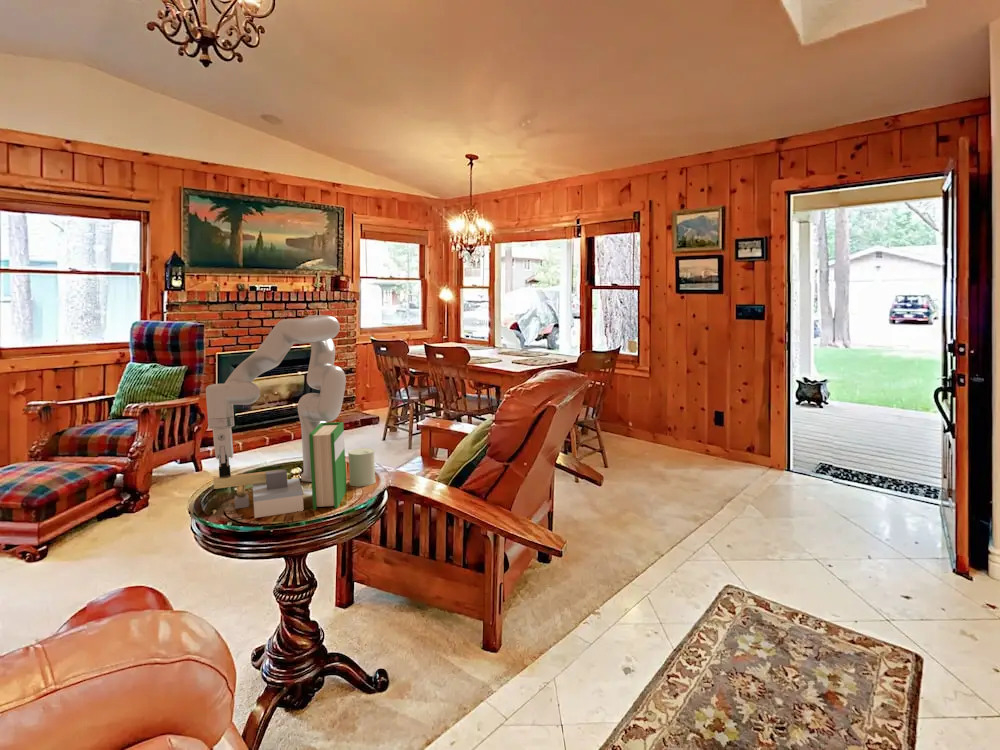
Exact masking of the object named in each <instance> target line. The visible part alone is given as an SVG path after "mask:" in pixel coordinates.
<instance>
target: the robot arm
mask: <svg viewBox="0 0 1000 750" xmlns="http://www.w3.org/2000/svg"><path fill="white" fill-rule="evenodd" d="M340 328H341V327H340V322H339V321H338V319H337V318H336V317H335V316H332V315H326V314H325V315H324V314H323V315H322V314H321V315H320V314H319V315H318V314H317V315H315V314H314V315H313V314H312V315H308V316H307V315H306V316H305V317H303V318H286V319H281V320H280V321H278V322H277V323H276V324H275V325H274V327H273V328H272V330H270V332H269V333H268V335H267V336H266V337H265V339H264V340H263V342H261V344H260V345H259V346H258V348H257V349H256V351H254V352H253V353H252V354H251V355H249V356H248V357H247V358H246V359H245V360H243V361H241V363H239V364H238V365H237V366H236V368H235V369H234V370H233V371H232V372H231V373H230V375H229V376H228V377H227V378H226V380H225V382H224V383H213V384H209V385H207V386H206V388H205V399H206V401H205V402H206V413H207V424H208V425H207V426H208V427H207V428H208V429H209V430H212V435H213V436H212V437H213V447H214V454H215V458H216V460H218V464H219V465H218V475H219V476H218V477H223V476H231V475H232V474H231V473H232V472H231V465H230V459H233V457H234V444H233V443H234V442H233V441H234V440H233V431H232V428H233V427H235V418H234V417H235V414H234V411H235V410H234V405H236V406H237V405H246V406H247V405H251V404H253V403H255V402H257V400H259V398H260V395H261V390H260V388H259V385H257V384H255V383H254V382H253V381H255V380H256V378H257V377H259V376H260V375H262V374H264V373H266V372H269V371H270V370H273V369H274V368H277V367H278V366H279V365H280V364H281V363H282V362H283V360H284V359H285V357H286V355H287V354H288V352H289V351H290V350H291V348H292V347H293V345H295V344H297V345H298V344H299V345H301V344H302V345H304V344H309V345H310V348H311V349H310V350H311V352H310V359H309V365H308V370H307V374H306V383H307V385H308V386H309V387H310V388H311V389H313V390H318V391H320V393H318V392H317V393H316V392H310V393H309V392H308V393H306V394H304V395H302V396H301V397H300V398H299V400H298V403H297V414H298V418H299V422H300V429H301V430H300V431H301V447H302V463H303V464H302V466H303V473H301V474H300V475H301V479H302V480H301V481H302V482H307V483H312V479H311V460H310V442H309V434H310V433H311V432H312V431H313V430H314V429H315V428H316V427H317V426H318V425H319V424H320V423H331V422H333V421H335V420H336V419H337V418H338V417H339V415H340V413H341V411H342V407H343V402H344V398H345V397H344V396H345V391H346V384H347V378H346V374H345V371H344V370H343V369H342V368H341V367H340V366H337V365H335V359H336V346H335V343H334V340H333V339H334V338H336V337H337V336H338V334H339V332H340V330H341V329H340Z"/></svg>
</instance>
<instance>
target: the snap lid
mask: <svg viewBox="0 0 1000 750" xmlns="http://www.w3.org/2000/svg"><path fill="white" fill-rule="evenodd" d="M275 470H276V471H273V470H267V471H268V472H266V482H265V483H257V484H252V496H253V497H252V499H253V503H254V502H256V501H263V500H271V499H278V498H285V497H292V496H300V495H303V496H304V490H303V487H302V484H301V480H300V477H298V478H291V479H288V471H287V469H282V470H281V469H275Z"/></svg>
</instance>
